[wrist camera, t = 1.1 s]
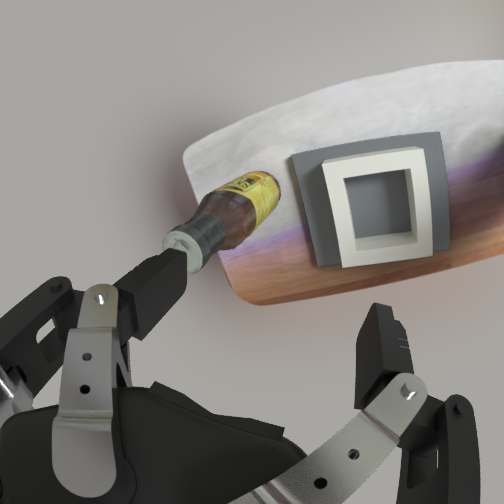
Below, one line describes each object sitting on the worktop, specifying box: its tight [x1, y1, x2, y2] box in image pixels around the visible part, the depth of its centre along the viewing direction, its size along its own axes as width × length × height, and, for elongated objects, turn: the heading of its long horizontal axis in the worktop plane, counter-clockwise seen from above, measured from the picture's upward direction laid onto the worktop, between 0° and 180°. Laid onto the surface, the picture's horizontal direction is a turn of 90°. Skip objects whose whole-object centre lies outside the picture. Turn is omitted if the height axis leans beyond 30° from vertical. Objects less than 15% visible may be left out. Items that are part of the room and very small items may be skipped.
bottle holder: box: [291, 132, 450, 268], centre depth 30 cm, size 20×16×6 cm
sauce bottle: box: [163, 171, 281, 274], centre depth 29 cm, size 7×6×20 cm
